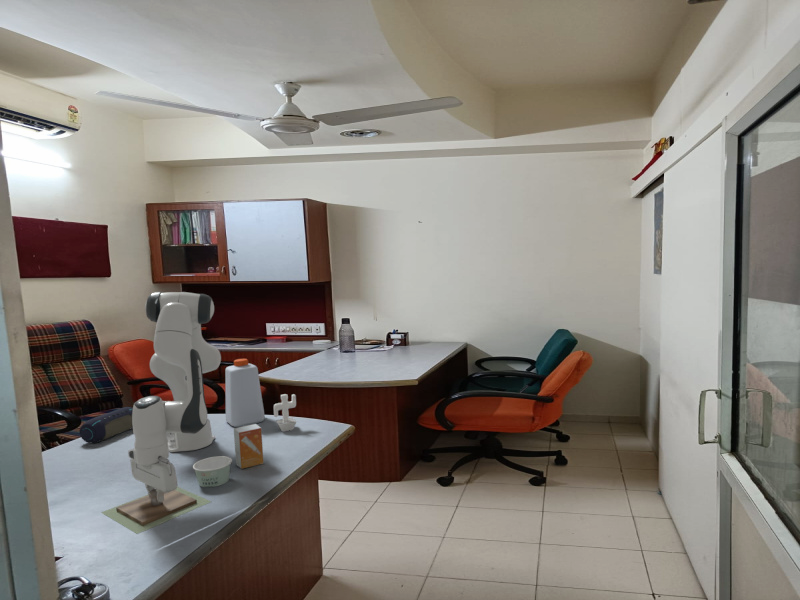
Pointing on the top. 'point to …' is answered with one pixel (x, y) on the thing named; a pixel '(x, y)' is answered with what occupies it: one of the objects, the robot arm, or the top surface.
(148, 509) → the walnut lid
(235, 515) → the top surface
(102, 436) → the portable speaker
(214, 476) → the food container
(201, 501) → the olive mat
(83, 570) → the top surface
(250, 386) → the plastic bottle
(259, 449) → the small box
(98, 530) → the top surface
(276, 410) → the figurine
